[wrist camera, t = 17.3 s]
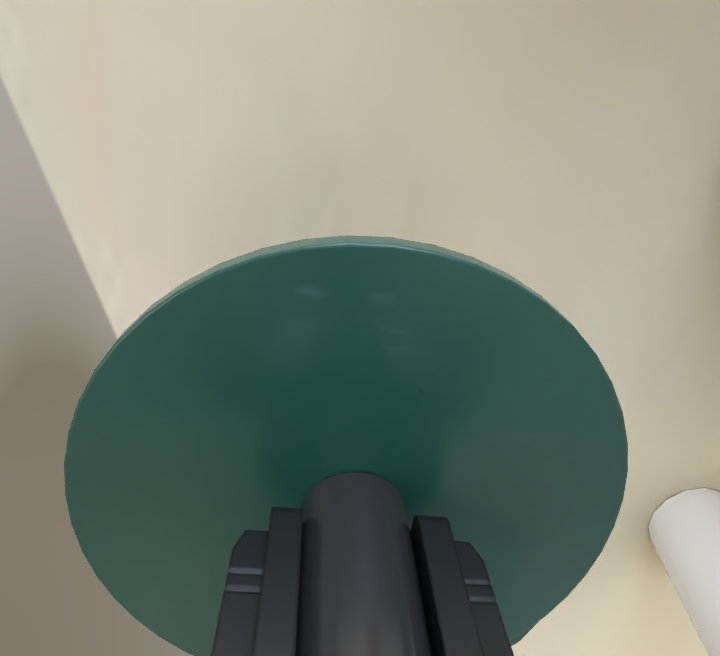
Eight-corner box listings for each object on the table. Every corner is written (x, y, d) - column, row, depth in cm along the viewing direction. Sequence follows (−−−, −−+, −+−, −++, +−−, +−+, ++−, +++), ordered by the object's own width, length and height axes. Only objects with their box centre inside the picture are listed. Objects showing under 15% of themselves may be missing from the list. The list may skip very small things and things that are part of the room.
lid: (684, 261, 13) (972, 416, 7) (533, 656, 18) (625, 918, 13) (56, 193, 11) (-218, 316, 6) (103, 641, 17) (-10, 929, 11)
